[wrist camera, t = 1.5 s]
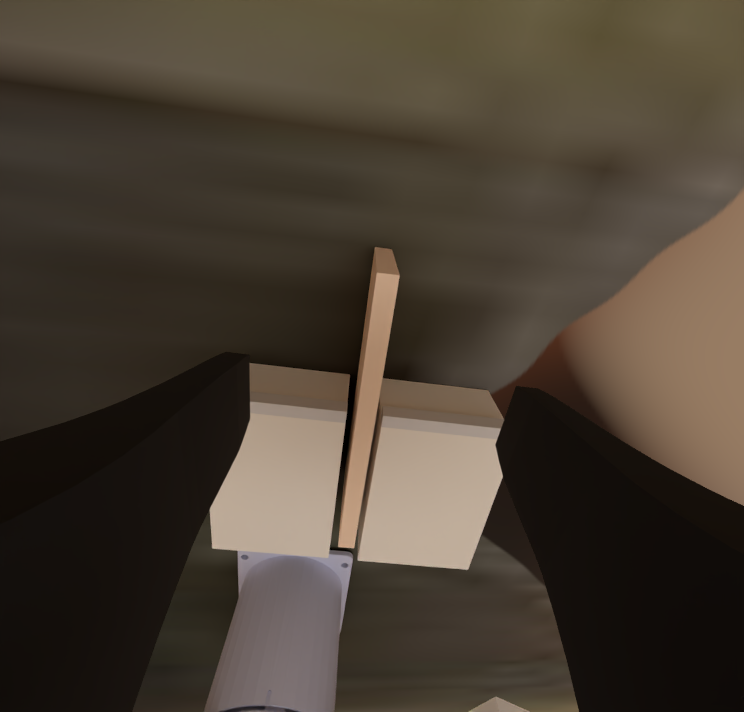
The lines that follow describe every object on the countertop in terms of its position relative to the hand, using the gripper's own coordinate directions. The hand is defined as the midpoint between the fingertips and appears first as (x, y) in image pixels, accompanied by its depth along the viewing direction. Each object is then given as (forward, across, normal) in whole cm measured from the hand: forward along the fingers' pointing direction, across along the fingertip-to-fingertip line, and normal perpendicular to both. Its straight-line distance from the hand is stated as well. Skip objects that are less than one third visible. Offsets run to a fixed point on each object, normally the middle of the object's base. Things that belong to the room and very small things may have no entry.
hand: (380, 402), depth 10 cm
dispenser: (+9, 0, +9) cm, 13 cm away
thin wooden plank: (+10, 0, +5) cm, 11 cm away
